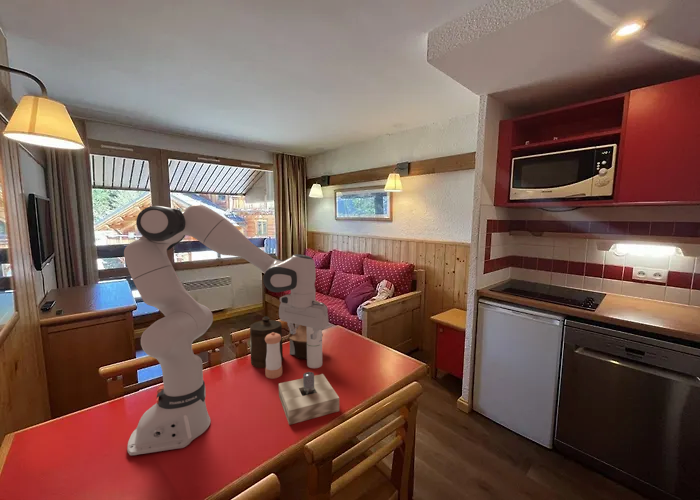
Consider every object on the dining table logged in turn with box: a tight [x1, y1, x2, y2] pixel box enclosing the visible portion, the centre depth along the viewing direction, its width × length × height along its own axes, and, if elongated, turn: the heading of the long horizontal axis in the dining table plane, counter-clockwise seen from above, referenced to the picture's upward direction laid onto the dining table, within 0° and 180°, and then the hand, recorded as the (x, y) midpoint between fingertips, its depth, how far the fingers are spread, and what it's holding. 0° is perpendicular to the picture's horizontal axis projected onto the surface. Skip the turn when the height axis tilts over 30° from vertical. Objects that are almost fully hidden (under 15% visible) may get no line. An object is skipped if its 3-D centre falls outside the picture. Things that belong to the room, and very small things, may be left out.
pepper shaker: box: [264, 332, 283, 380], centre depth 130 cm, size 7×7×19 cm
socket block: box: [278, 373, 340, 426], centre depth 110 cm, size 18×18×5 cm
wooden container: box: [249, 316, 284, 369], centre depth 142 cm, size 15×15×22 cm
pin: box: [302, 371, 315, 396], centre depth 109 cm, size 4×4×10 cm
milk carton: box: [288, 324, 299, 356], centre depth 151 cm, size 7×7×19 cm
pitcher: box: [287, 299, 324, 360], centre depth 148 cm, size 18×17×28 cm
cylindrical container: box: [306, 327, 323, 369], centre depth 138 cm, size 7×7×25 cm
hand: (303, 336), depth 108 cm, fingers open, 8 cm apart
